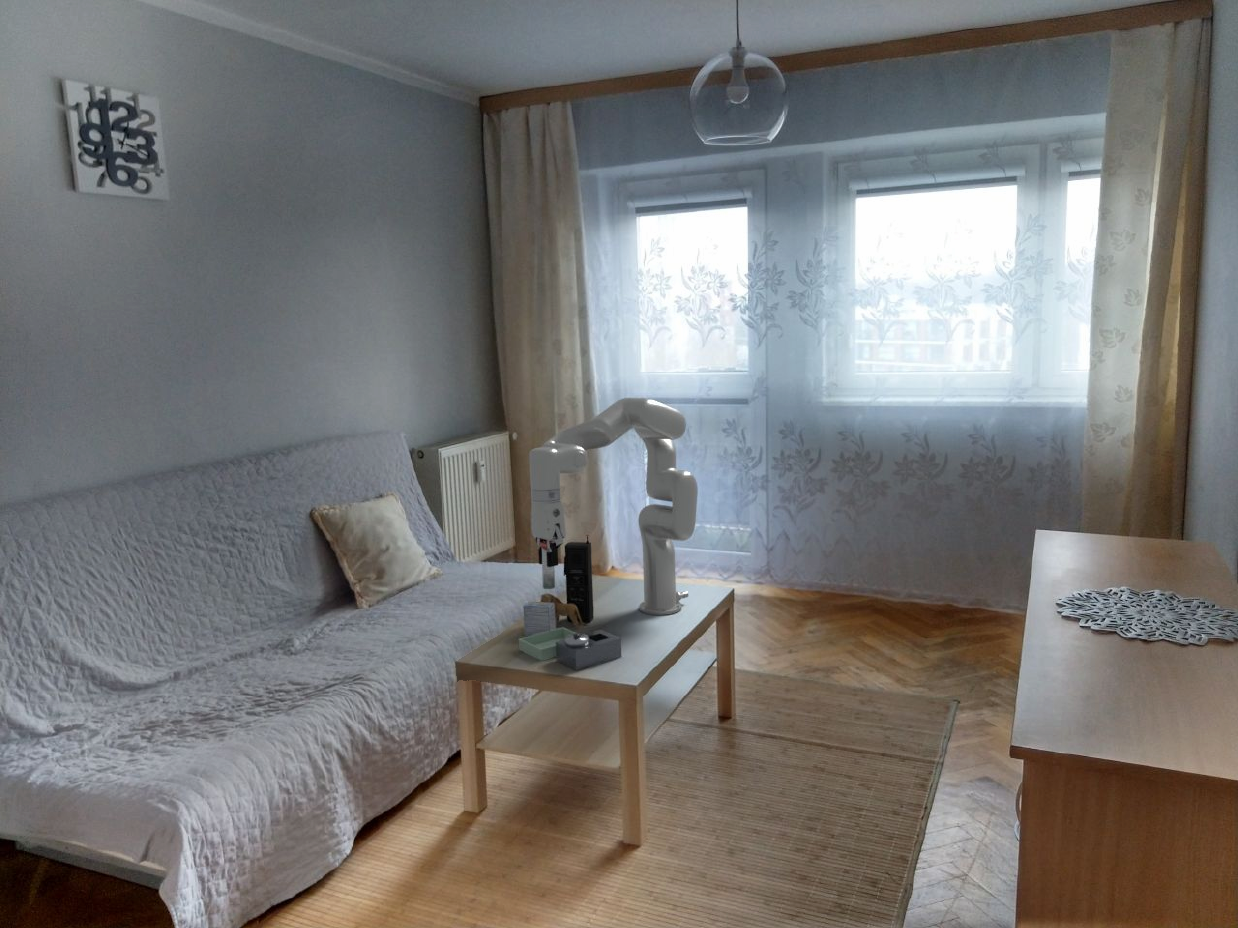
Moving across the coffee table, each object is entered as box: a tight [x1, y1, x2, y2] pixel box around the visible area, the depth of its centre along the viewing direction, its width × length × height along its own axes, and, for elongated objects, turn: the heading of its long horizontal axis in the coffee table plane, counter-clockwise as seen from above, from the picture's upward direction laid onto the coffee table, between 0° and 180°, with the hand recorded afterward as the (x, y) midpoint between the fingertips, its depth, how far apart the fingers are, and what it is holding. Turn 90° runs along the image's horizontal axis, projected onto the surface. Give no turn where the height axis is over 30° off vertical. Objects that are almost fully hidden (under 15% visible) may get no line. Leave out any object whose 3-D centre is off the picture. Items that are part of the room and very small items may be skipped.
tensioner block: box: [555, 629, 622, 671], centre depth 232 cm, size 14×9×7 cm, turn 127°
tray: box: [518, 627, 577, 662], centre depth 241 cm, size 14×11×3 cm
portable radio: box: [563, 534, 595, 624], centre depth 263 cm, size 8×6×25 cm
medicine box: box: [522, 601, 557, 637], centre depth 253 cm, size 8×4×9 cm, turn 74°
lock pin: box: [540, 541, 556, 590], centre depth 238 cm, size 4×4×12 cm
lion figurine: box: [540, 592, 588, 630], centre depth 260 cm, size 15×5×9 cm, turn 67°
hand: (548, 563), depth 238 cm, fingers closed on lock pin, 3 cm apart
